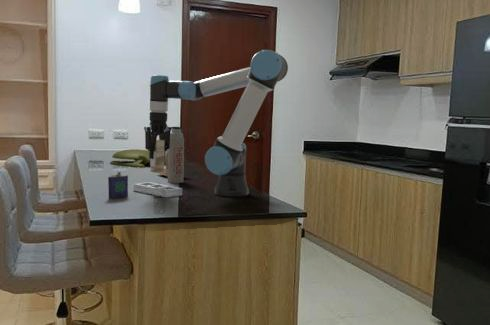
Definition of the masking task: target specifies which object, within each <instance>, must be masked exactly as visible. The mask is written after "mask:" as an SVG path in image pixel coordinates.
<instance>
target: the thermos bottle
mask: <svg viewBox="0 0 490 325" xmlns="http://www.w3.org/2000/svg"><path fill="white" fill-rule="evenodd" d="M171 127H172V129H171V132H170V148H169V149H168V177H167V182H168V183H173V184H178V183H180V184H181V183H182V184H183V183H184V175H185V173H184V172H185V171H184V168H185V165H184V163H185V160H184V158H185V138H184V133H183V132H182V127H181V126H171Z"/></svg>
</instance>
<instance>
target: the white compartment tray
mask: <svg viewBox="0 0 490 325" xmlns="http://www.w3.org/2000/svg"><path fill="white" fill-rule="evenodd" d="M133 191H134V192H137V191H139V192H138V193H142V192H143V193H142V194H147V193H148V194H147V195H151V194H152V196H157V197H160V196H161V197H162V198H172V197H173V198H174V197H180V196H183V188H182V187H177V186H172V185H167V184H161V183H156V182H152V181H151V182H150V181H148V182H147V181H146V182H140V183H133Z"/></svg>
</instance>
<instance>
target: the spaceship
mask: <svg viewBox="0 0 490 325" xmlns="http://www.w3.org/2000/svg"><path fill="white" fill-rule="evenodd" d="M112 158H113V159H118V160H131V161H132V160H133V162H129V161H128V162H127V161H118V160H112V161H110V162H109V164H110V165H113V164H114V165H113V166H121V165H122V166H121V167H129V166H130V167H131V168H137V167H140V168H139V169H142V168H141V167H144V168H146V167H145V165H146V164H150V158H149V151H148V150H146V149H139V148H138V149H133V148H132V149H124V150H120V151H117V152H115V153H113V155H112ZM165 158H166V156H165ZM165 158H164V165H165V164H166V159H165Z"/></svg>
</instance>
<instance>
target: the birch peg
mask: <svg viewBox="0 0 490 325" xmlns="http://www.w3.org/2000/svg"><path fill="white" fill-rule="evenodd" d="M154 151H156V167H153V166H150V168H149V169H150V172H151V173H156V174H157V173H158V174H159V172H164V169H165V164H164V140H159V138H157V140H156V145H155V150H154Z"/></svg>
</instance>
